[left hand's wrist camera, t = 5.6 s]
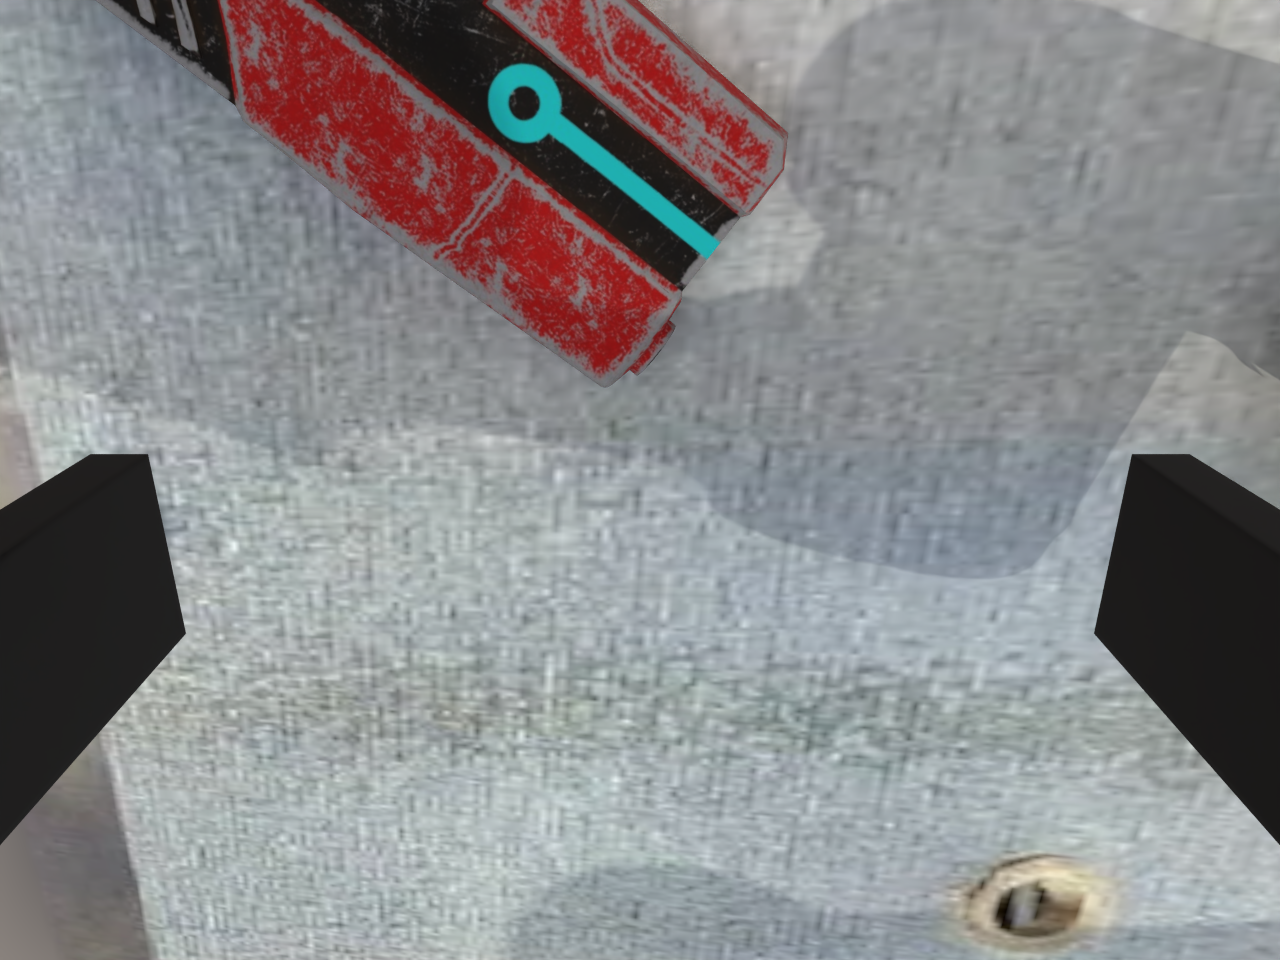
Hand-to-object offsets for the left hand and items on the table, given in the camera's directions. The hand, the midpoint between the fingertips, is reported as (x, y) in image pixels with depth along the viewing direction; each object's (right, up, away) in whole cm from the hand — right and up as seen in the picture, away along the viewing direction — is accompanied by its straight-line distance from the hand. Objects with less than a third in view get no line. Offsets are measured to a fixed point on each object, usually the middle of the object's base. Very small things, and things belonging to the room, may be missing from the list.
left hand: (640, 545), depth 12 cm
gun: (-8, +21, +26) cm, 34 cm away
